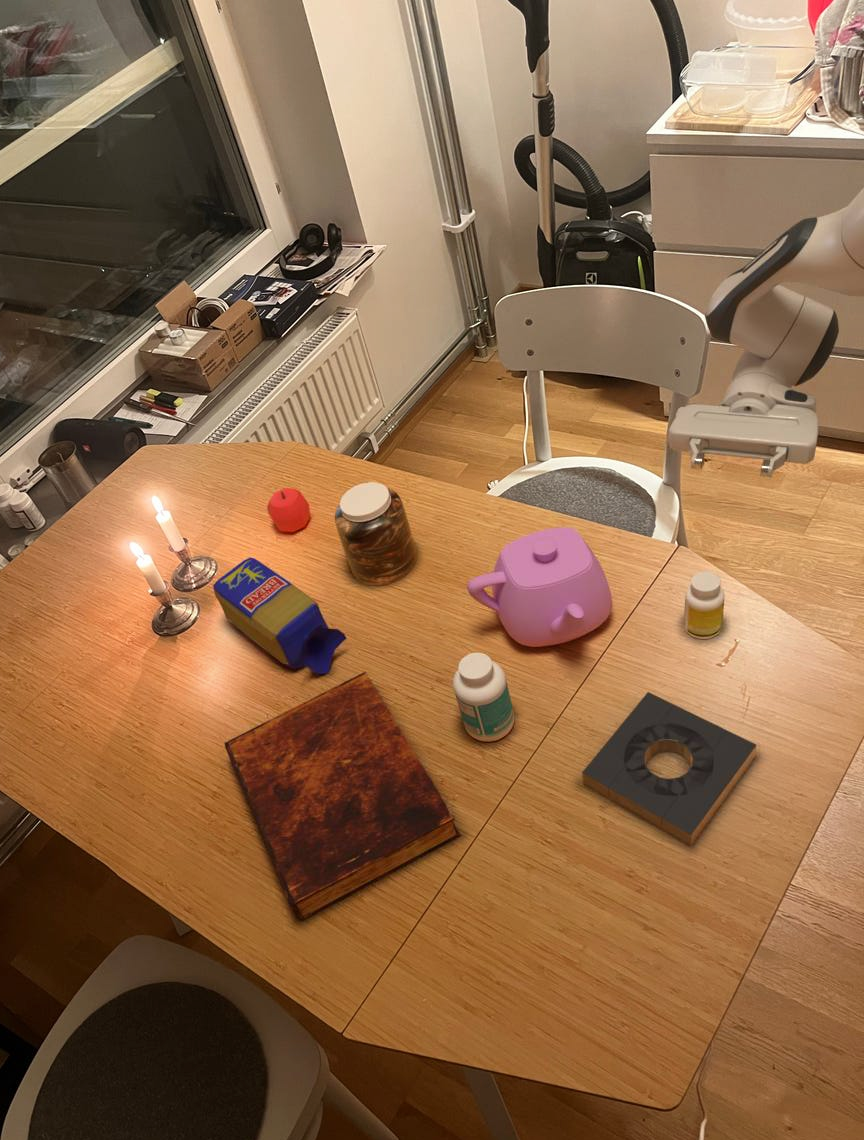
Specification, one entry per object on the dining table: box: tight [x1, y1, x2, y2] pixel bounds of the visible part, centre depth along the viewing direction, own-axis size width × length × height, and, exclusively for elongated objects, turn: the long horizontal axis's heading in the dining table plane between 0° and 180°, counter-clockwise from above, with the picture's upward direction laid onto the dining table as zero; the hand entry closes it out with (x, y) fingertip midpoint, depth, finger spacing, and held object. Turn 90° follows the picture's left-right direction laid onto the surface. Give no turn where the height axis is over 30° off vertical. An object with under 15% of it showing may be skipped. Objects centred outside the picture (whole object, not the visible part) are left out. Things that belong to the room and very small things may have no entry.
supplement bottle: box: [683, 570, 725, 640], centre depth 133 cm, size 5×5×10 cm
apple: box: [266, 487, 311, 533], centre depth 171 cm, size 8×8×8 cm
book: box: [224, 671, 462, 922], centre depth 129 cm, size 30×24×5 cm
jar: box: [334, 481, 418, 587], centre depth 156 cm, size 12×12×15 cm
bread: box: [212, 557, 347, 675], centre depth 151 cm, size 10×25×10 cm, turn 42°
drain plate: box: [581, 691, 758, 847], centre depth 121 cm, size 16×16×3 cm
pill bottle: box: [452, 652, 515, 743], centre depth 129 cm, size 8×7×14 cm
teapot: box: [466, 526, 613, 648], centre depth 137 cm, size 23×21×15 cm
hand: (730, 469), depth 129 cm, fingers open, 8 cm apart
